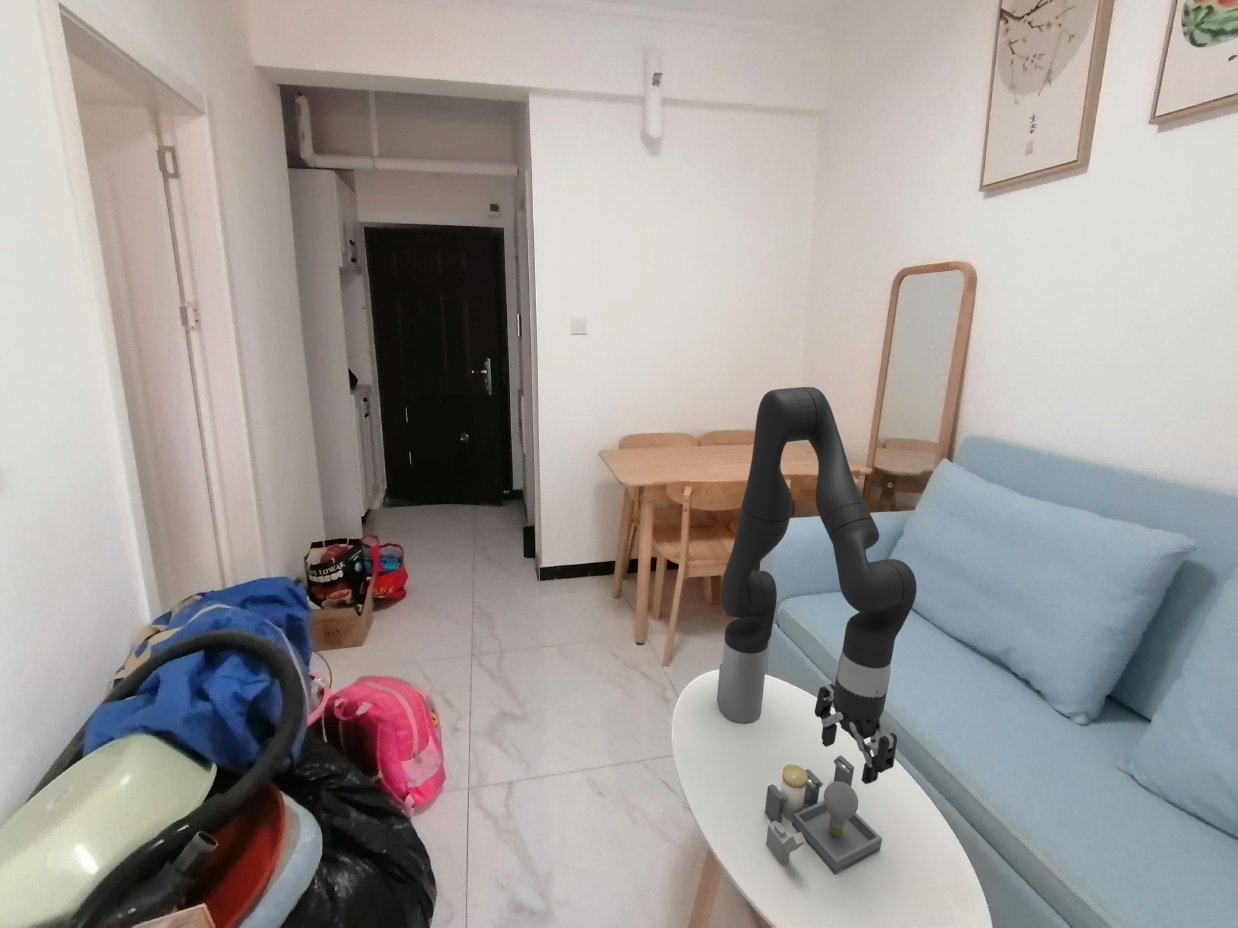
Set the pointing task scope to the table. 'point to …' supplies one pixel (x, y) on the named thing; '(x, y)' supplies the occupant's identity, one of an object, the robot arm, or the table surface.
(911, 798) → the table surface
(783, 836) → the lighter
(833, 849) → the tray
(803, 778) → the cream domed cylinder
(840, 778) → the clip block
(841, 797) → the light bulb
